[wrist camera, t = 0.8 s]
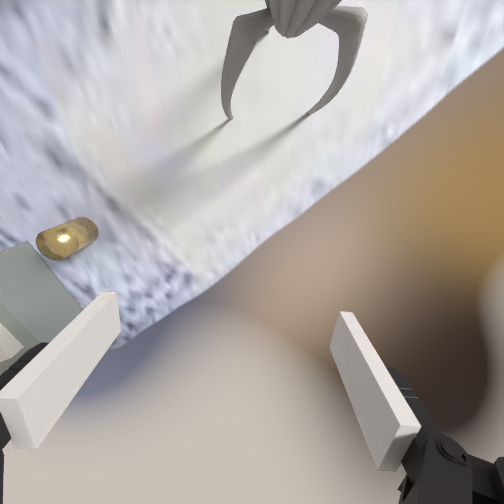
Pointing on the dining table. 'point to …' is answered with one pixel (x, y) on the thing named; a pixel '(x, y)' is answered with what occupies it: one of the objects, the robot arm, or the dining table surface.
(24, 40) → the dining table surface
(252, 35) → the juicer
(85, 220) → the brass slug
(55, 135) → the dining table surface
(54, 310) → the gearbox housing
